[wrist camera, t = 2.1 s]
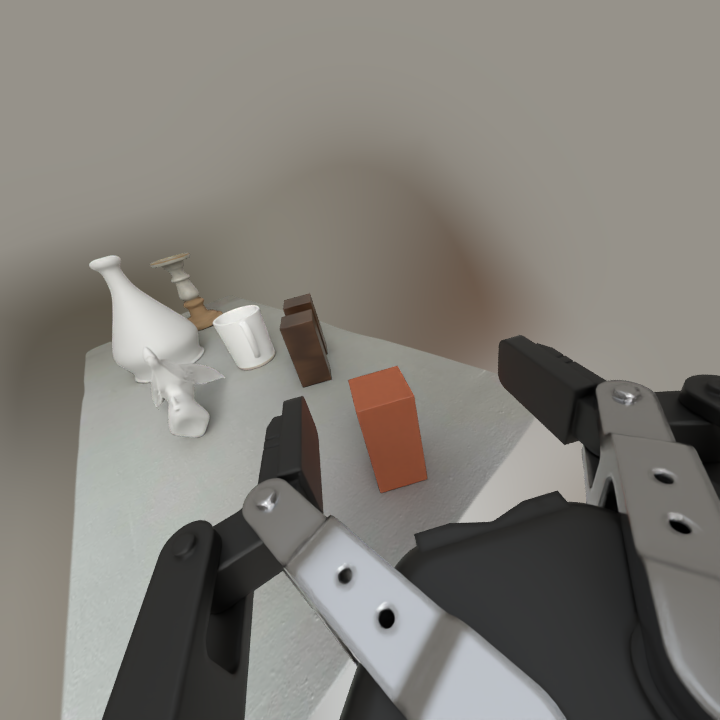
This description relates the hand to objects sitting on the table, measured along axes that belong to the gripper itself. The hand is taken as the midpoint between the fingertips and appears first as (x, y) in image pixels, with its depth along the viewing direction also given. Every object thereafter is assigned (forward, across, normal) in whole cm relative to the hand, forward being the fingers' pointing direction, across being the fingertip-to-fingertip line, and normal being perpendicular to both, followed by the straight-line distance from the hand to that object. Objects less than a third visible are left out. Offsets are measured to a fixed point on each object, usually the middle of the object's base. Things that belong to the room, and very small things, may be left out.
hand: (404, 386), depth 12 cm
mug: (+47, +20, +20) cm, 55 cm away
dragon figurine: (+32, +28, +20) cm, 47 cm away
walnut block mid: (+35, +8, +19) cm, 41 cm away
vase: (+59, +43, +20) cm, 76 cm away
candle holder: (+84, +42, +20) cm, 96 cm away
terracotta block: (+12, 0, +20) cm, 23 cm away
